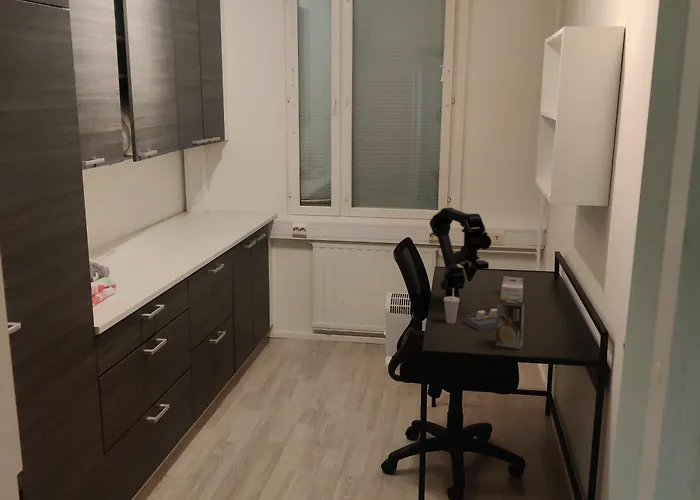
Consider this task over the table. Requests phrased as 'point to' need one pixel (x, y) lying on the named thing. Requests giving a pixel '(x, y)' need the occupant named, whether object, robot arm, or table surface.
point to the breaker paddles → (481, 314)
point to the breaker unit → (481, 322)
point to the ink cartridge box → (512, 289)
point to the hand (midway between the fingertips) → (469, 281)
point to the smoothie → (451, 308)
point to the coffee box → (510, 323)
